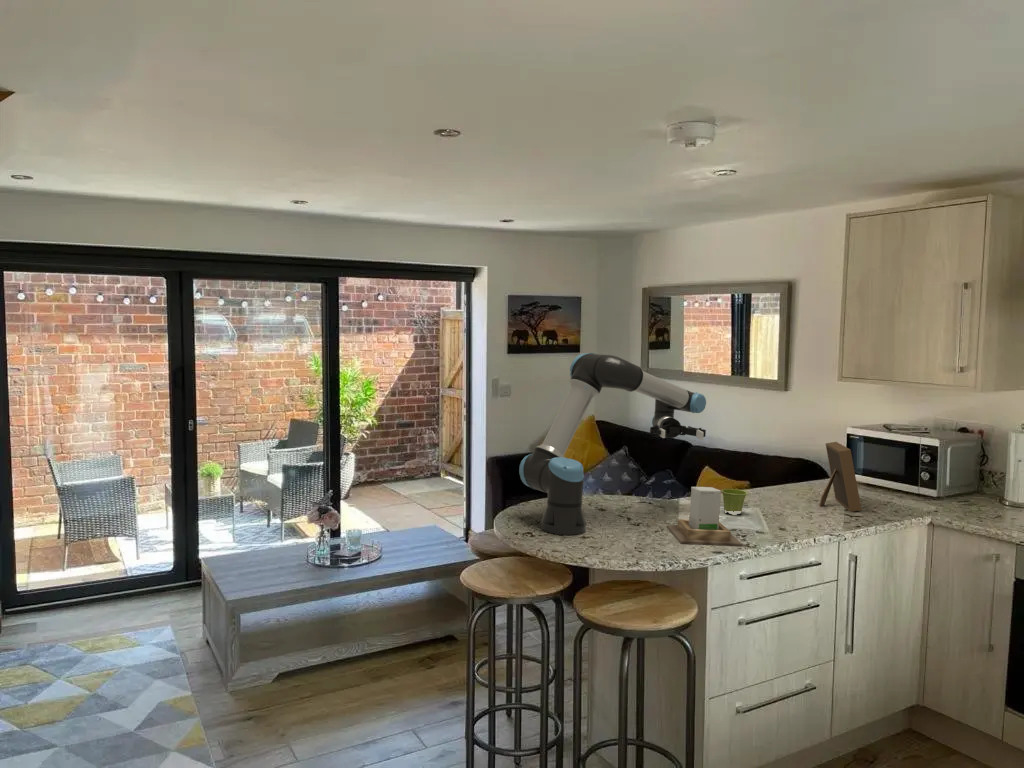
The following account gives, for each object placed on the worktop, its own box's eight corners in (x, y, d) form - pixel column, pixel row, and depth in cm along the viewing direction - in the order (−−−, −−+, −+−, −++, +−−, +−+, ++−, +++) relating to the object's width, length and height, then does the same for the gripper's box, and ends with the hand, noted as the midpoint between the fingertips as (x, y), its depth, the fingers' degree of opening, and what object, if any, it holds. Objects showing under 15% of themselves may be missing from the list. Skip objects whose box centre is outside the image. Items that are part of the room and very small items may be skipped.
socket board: (680, 543, 243) (681, 532, 243) (666, 527, 263) (667, 516, 263) (741, 546, 244) (742, 534, 243) (723, 529, 264) (723, 518, 263)
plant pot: (746, 517, 282) (748, 495, 282) (720, 515, 284) (722, 492, 284) (744, 512, 292) (745, 490, 291) (719, 509, 293) (720, 487, 293)
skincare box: (696, 537, 249) (699, 490, 248) (686, 531, 256) (689, 486, 254) (719, 536, 251) (722, 490, 250) (709, 531, 258) (712, 486, 257)
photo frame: (846, 500, 322) (850, 442, 320) (861, 512, 300) (865, 450, 298) (809, 498, 324) (813, 440, 322) (822, 509, 303) (826, 448, 301)
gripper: (701, 438, 287) (717, 447, 266) (636, 435, 287) (647, 444, 266) (702, 418, 287) (719, 426, 266) (637, 415, 286) (648, 423, 265)
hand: (683, 435), depth 266 cm, fingers open, 13 cm apart
